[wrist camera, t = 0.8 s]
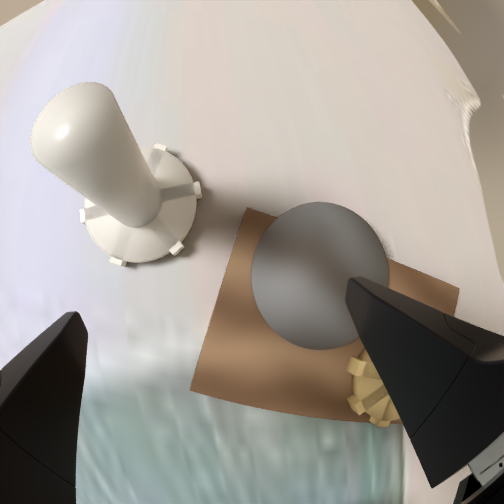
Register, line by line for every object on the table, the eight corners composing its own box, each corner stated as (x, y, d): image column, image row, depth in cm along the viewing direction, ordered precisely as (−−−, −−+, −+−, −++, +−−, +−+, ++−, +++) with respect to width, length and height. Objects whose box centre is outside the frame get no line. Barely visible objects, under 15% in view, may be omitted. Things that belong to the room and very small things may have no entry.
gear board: (410, 418, 23) (434, 432, 18) (191, 383, 21) (186, 404, 16) (453, 265, 25) (481, 261, 21) (254, 183, 23) (263, 163, 19)
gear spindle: (172, 283, 21) (117, 283, 8) (74, 246, 20) (-37, 211, 8) (214, 166, 23) (220, 51, 10) (118, 139, 22) (60, 36, 9)
